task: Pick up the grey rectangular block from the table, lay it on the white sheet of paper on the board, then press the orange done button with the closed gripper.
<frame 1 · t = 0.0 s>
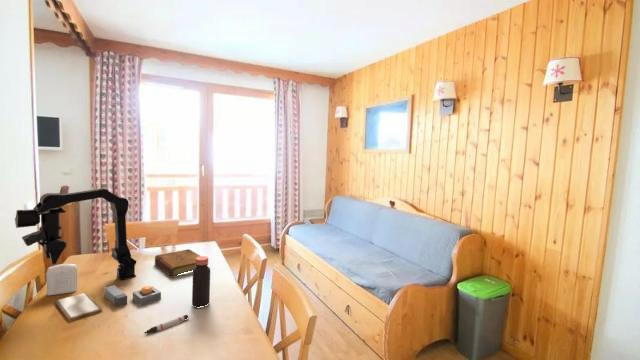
hand: (51, 261, 129), 15 cm above the table, tool pointing down, fingers open, 9 cm apart
diary: (181, 267, 169), on the table
drawing board: (78, 307, 122), on the table
marker: (166, 328, 113), on the table
done button: (146, 290, 131), point 4 cm above the table, slide at 0.0 cm
photo printer: (62, 292, 133), on the table
bottle: (200, 305, 130), on the table
button housing: (146, 298, 132), on the table
grey rectangular block: (115, 299, 130), on the table
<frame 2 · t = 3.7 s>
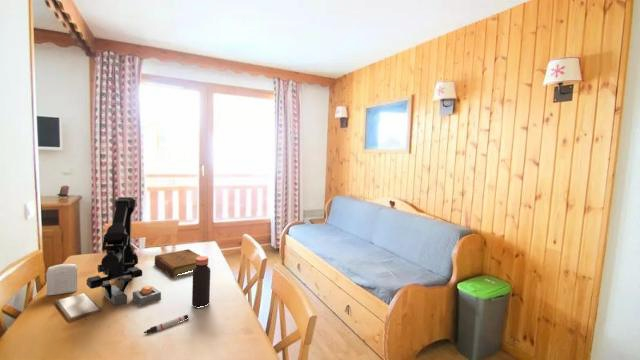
hand: (115, 296, 129), 1 cm above the table, tool pointing down, fingers closed on grey rectangular block, 4 cm apart
grey rectangular block: (115, 299, 130), on the table, touching gripper
everything else where it was.
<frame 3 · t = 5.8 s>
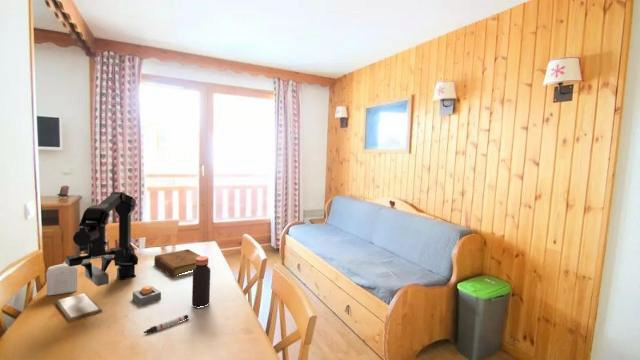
hand: (96, 276, 124), 11 cm above the table, tool pointing down, fingers closed on grey rectangular block, 4 cm apart
grey rectangular block: (96, 279, 125), point 10 cm above the table, touching gripper
everything else where it was.
when the fingers open (3 cm above the table, at t = 8.1 s): grey rectangular block stays where it is, resting on drawing board.
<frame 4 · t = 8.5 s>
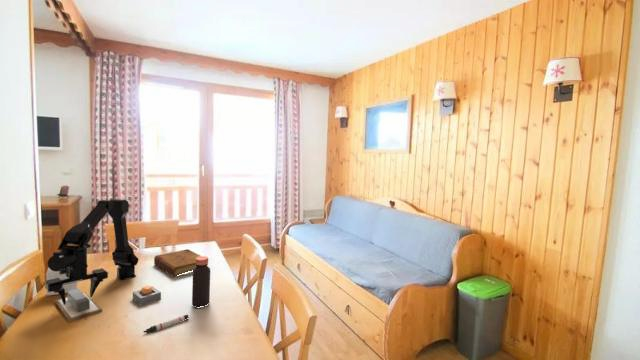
hand: (78, 300, 122), 3 cm above the table, tool pointing down, fingers open, 8 cm apart
grey rectangular block: (78, 304, 122), point 1 cm above the table, touching drawing board
everything else where it was.
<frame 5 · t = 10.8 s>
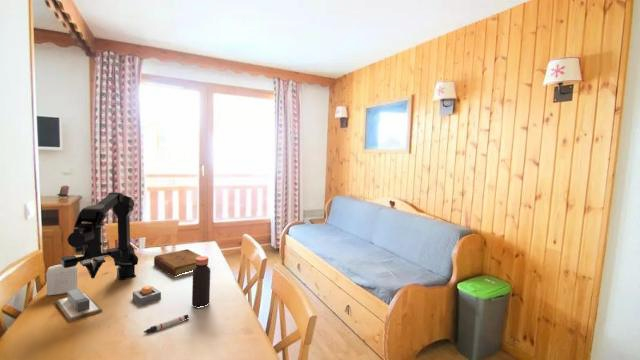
hand: (92, 278, 123), 11 cm above the table, tool pointing down, fingers closed
nothing on the table moved.
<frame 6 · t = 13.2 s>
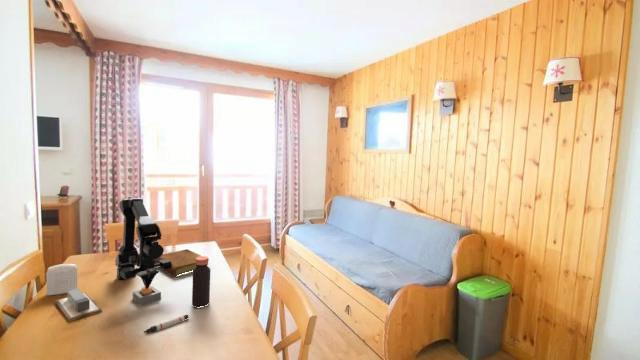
hand: (146, 288, 131), 5 cm above the table, tool pointing down, fingers closed, pressing on done button
done button: (146, 290, 131), point 4 cm above the table, slide at 0.0 cm, touching gripper
everything else where it was.
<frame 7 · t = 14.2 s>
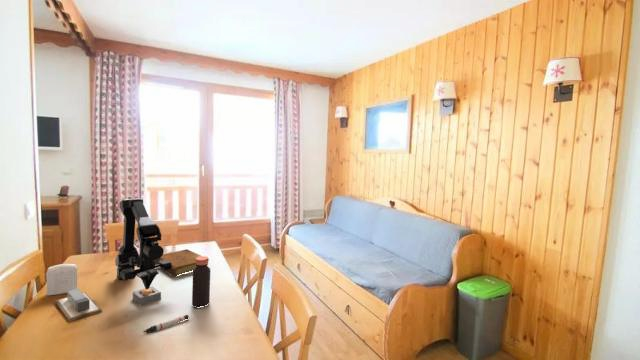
hand: (146, 289, 131), 4 cm above the table, tool pointing down, fingers closed
done button: (146, 293, 132), point 2 cm above the table, slide at 1.1 cm
everything else where it was.
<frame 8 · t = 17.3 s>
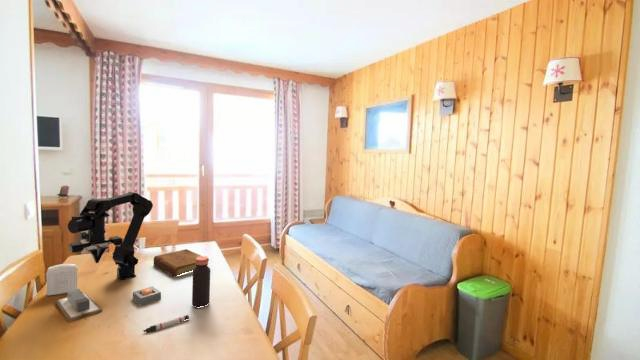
hand: (96, 262, 137), 12 cm above the table, tool pointing down, fingers closed
nothing on the table moved.
at the end: grey rectangular block inside the target area on the drawing board (0.0 cm from its centre), point 1.2 cm above the drawing board's base; the gripper is holding nothing; done button slide at 1.1 cm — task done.
